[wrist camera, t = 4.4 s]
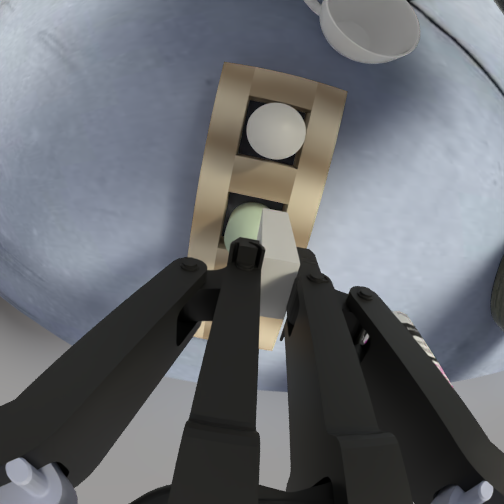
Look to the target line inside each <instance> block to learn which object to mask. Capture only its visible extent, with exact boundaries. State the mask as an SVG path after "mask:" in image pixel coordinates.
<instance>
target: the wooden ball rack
mask: <svg viewBox="0 0 504 504" xmlns="http://www.w3.org/2000/svg"><path fill="white" fill-rule="evenodd" d="M347 92H348V91H345V90H342V89H339V88H336V87H333V86H329V85H326V84H323V83H320V82H316V81H313V80H309V79H306V78H302V77H298V76H294V75H290V74H286V73H282V72H278V71H273V70H268V69H263V68H258V67H253V66H247V65H242V64H235V63H228V62H224V65H223V69H222V73H221V77H220V81H219V85H218V89H217V93H216V98H215V102H214V107H213V111H212V116H211V120H210V125H209V130H208V135H207V140H206V145H205V150H204V155H203V161H202V166H201V172H200V177H199V183H198V189H197V195H196V201H195V207H194V214H193V220H192V227H191V234H190V241H189V249H188V258H189V257H192V258H195V259H199V260H201V261H203V262H204V263H205V264H206V265H207V270H218V269H222V268H225V267H226V266H227V262H228V256H229V252H228V251H227V249H226V246H225V242H224V236H222V230H223V225H224V220H225V215H226V209H227V204H228V199H229V194H230V192H233V193H238V194H243V195H247V196H252V197H257V198H261V199H266V200H271V201H275V202H280V203H283V207H282V212H287V213H288V215H289V219H290V223H291V227H292V231H293V235H294V239H295V243H296V247H301V248H307V245H308V242H309V239H310V235H311V232H312V228H313V225H314V222H315V218H316V215H317V211H318V208H319V204H320V201H321V197H322V193H323V190H324V186H325V182H326V179H327V175H328V171H329V167H330V164H331V160H332V156H333V152H334V148H335V144H336V140H337V136H338V132H339V127H340V123H341V119H342V115H343V110H344V106H345V101H346V97H347ZM250 100H251V101H256V102H261V103H266V104H268V103H283V104H286V105H289V106H291V107H292V108H294V109H295V110H296V111H299V112H303V113H305V117H304V123H305V127H306V136H305V140H304V143H303V145H302V146H301V148H300V149H299V150H298V151H297V152H296V155H295V159H294V163H293V165H289V164H285V163H281V162H276V161H272V160H267V159H263V158H258V157H254V156H249V155H244V154H239V153H238V151H239V146H240V141H241V137H242V132H243V128H244V123H245V119H246V115H247V110H248V106H249V101H250ZM282 322H283V320H281V319H275V318H268V317H262V316H260V327H259V349H263V350H270V351H272V350H273V347H274V345H275V342H276V339H277V336H278V333H279V331H280V328H281V325H282ZM211 325H212V321H202V323H201V326H200V328H199V329H198V330H197V332H196V333H195V334H194V336H193V337H198V338H202V339H207V340H208V337H209V333H210V329H211Z"/></svg>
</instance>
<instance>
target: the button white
mask: <svg viewBox="0 0 504 504" xmlns="http://www.w3.org/2000/svg"><path fill="white" fill-rule="evenodd" d="M305 136H306V127H305V123H304V121H303V119H302V117H301V115H300V114H299V113H298V112H297V111H296V110H295V109H294V108H292V107H291V106H289V105H286V104H283V103H268V104H265V105H263V106H261V107H259V108H258V109H256V110H255V111H254V112H253V114H252V115H251V116H250V118H249V120H248V123H247V137H248V141H249V143H250V145H251V146H252V148H253V149H254V150H255V151H256V152H257V153H259V154H260V155H262V156H264V157H266V158H269V159H284V158H287V157H290V156H292V155H293V154H295V153H296V152H297V151H298V150H299V149H300V148H301V146H302V145H303V143H304V140H305Z"/></svg>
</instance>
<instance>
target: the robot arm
mask: <svg viewBox="0 0 504 504" xmlns="http://www.w3.org/2000/svg"><path fill="white" fill-rule="evenodd" d="M407 1H410V0H407ZM494 2H495V3H496V4H497V6H498V7H499V9H500V10H501V11H502V13H503V14H504V0H494ZM286 310H287V319H286V322H285V325H284V328H283V331H282V334H281V337H280V341H282V340H283V337H285V349H286V366H287V385H288V405H289V429H290V460H291V472H290V477H289V480H288V483H287V487H286V492H285V491H281V490H277V489H273V488H269V487H265V486H262V485H259V464H260V463H259V462H260V436H259V433H258V432H257V431H256V405H257V381H258V355H259V327H260V316H262V317H268V318H275V319H281V320H284V317H285V313H286ZM202 321H212V325H211V329H210V333H209V337H208V341H207V345H206V349H205V353H204V357H203V362H202V366H201V370H200V374H199V378H198V382H197V387H196V391H195V395H194V400H193V404H192V408H191V413H190V417H189V420H188V421H187V422H186V424H185V427H184V431H183V435H182V440H181V444H180V448H179V453H178V457H177V461H176V466H175V471H174V475H173V480H172V484H171V485H166V486H163V487H160V488H157V489H155V490H152V491H150V492H148V493H146V494H144V495H143V496H141V497H139V498H138V499H136V500H134V501H133V502H131V503H129V504H413V502H414V503H415V504H504V453H503V452H502V451H501V450H499V449H498V448H497V447H496V446H495V445H494V444H493V443H491V442H490V440H489V439H488V437H487V436H486V434H485V433H484V431H483V430H482V428H481V427H480V425H479V424H478V422H477V421H476V419H475V418H474V416H473V415H472V413H471V412H470V411H469V409H468V408H467V406H466V405H465V403H464V402H463V401H462V399H461V398H460V397H459V395H458V394H457V392H456V391H455V390H454V388H453V387H452V386H451V384H450V383H449V382H448V380H447V379H446V378H445V376H444V375H443V374H442V372H441V371H440V370H439V369H438V367H437V366H436V365H435V363H434V362H433V361H432V360H431V358H430V357H429V356H428V354H427V353H426V352H425V351H424V349H423V348H422V347H421V346H420V345H419V343H418V342H417V341H416V340H415V338H414V337H413V336H412V335H411V334H410V332H409V331H408V330H407V329H406V328H405V326H404V325H403V324H402V323H401V322H400V320H399V319H398V318H397V317H396V316H395V315H394V313H393V312H392V311H391V310H390V309H389V308H388V306H387V305H386V304H385V303H384V302H383V301H382V300H381V298H380V297H379V296H378V295H377V294H376V293H375V292H373V291H371V290H370V289H369V288H366V287H360V286H355V287H352V288H351V289H350V291H349V294H346V293H343V292H340V291H338V290H335V289H334V287H333V284H332V281H331V280H330V278H329V277H327V276H326V275H324V274H322V273H321V272H320V269H319V266H318V263H317V260H316V257H315V254H314V253H313V252H312V251H311V250H309V249H306V248H301V247H296V243H295V239H294V235H293V231H292V227H291V223H290V219H289V215H288V213H287V212H282V211H277V210H272V209H267V208H263V210H262V215H261V220H260V225H259V230H258V235H257V240H254V239H248V238H243V237H239V238H237V239H236V240H235V241H232V242H231V244H230V249H229V256H228V262H227V266H226V267H225V268H222V269H218V270H207V265H206V264H205V263H204V262H203V261H201V260H199V259H195V258H192V257H189V258H188V257H184V258H179V259H177V260H175V261H173V262H172V263H171V264H169V265H168V266H167V267H166V268H164V269H163V270H162V271H161V272H159V273H158V274H157V275H156V276H154V277H153V278H152V279H151V280H150V281H148V282H147V283H146V284H145V285H143V286H142V287H141V288H140V289H139V290H137V291H136V292H135V293H134V294H132V295H131V296H130V297H129V298H128V299H126V300H125V301H124V302H123V303H122V304H120V305H119V306H118V307H117V308H116V309H115V310H113V311H112V312H111V313H110V314H109V315H107V316H106V317H105V318H104V319H103V320H102V321H100V322H99V323H98V324H97V325H96V326H95V327H93V328H92V329H91V330H90V331H89V332H88V333H87V334H85V335H84V336H83V337H82V338H81V339H80V340H79V341H77V342H76V343H75V344H74V345H73V346H72V347H71V348H70V349H68V350H67V351H66V352H65V353H64V354H63V355H62V356H61V357H60V358H59V359H57V360H56V361H55V362H54V363H53V364H52V365H51V366H50V367H49V368H48V369H47V370H45V371H44V372H43V373H42V374H41V375H40V376H39V377H38V378H37V379H36V380H35V381H34V382H33V383H32V384H31V385H30V386H29V387H27V388H26V389H25V390H24V391H23V392H22V393H21V394H20V395H19V396H18V397H17V398H16V399H15V400H13V401H11V402H9V403H6V404H4V405H2V406H0V504H77V495H76V491H75V490H74V488H75V487H76V486H78V485H79V484H80V483H81V482H83V481H84V480H85V479H86V478H87V477H88V476H89V475H90V474H91V473H92V472H93V471H94V470H95V468H96V467H97V466H98V465H99V464H100V462H101V461H102V460H103V458H104V457H105V456H106V454H107V453H108V451H109V450H110V449H111V447H112V446H113V445H114V443H115V442H116V441H117V439H118V438H119V436H120V435H121V434H122V432H123V431H124V430H125V428H126V427H127V426H128V424H129V423H130V422H131V420H132V419H133V418H134V416H135V415H136V413H137V412H138V411H139V409H140V408H141V407H142V405H143V404H144V403H145V401H146V400H147V398H148V397H149V396H150V394H151V393H152V392H153V390H154V389H155V388H156V386H157V385H158V384H159V382H160V381H161V379H162V378H163V377H164V375H165V374H166V373H167V371H168V370H169V369H170V367H171V366H172V364H173V363H174V362H175V360H176V359H177V358H178V356H179V355H180V354H181V352H182V351H183V349H184V348H185V347H186V345H187V344H188V343H189V341H190V340H191V338H192V337H193V336H194V334H195V333H196V332H197V330H198V329H199V328H200V326H201V323H202ZM365 331H366V332H367V334H368V335H369V338H368V340H367V342H366V343H364V342H363V341H362V337H363V335H364V333H365Z"/></svg>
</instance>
